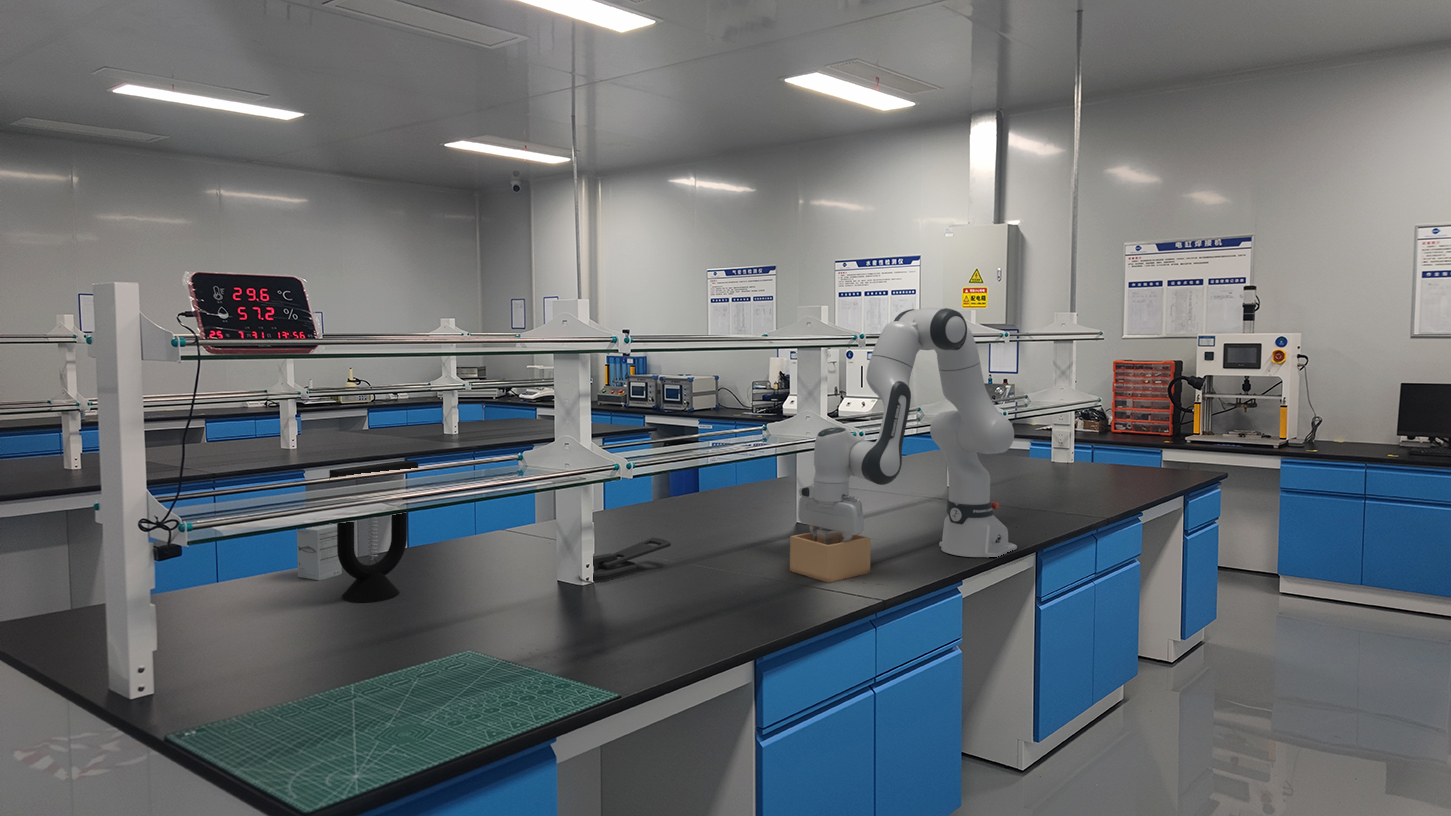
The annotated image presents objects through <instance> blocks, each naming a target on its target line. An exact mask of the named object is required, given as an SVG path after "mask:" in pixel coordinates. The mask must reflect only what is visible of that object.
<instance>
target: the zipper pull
mask: <svg viewBox="0 0 1451 816" xmlns="http://www.w3.org/2000/svg"><path fill="white" fill-rule="evenodd" d="M650 544H651V545H650ZM652 544H653V545H652ZM671 546H672V543H671V542H670V541H669V540H667V539H664V538H659V537H650V538H648V539H645V540H643V541H641V542H638V543H636V544H634V545H631V546H628V547H626V548H623V549H621V550H619V551H616V552H613V553H611V552H610V553H605V554H604V553H603V554H599V555H594V556H592V557H593V566H594V573H593V581H594V582H595V583H594V584H597V583H598V584H599V582H600V583H607V582H610V580H611V581H615V580H617V578H618V579H621V577H622V578H626V577H630V576H632V575H633V574H634V575H636V574H637V565H636V563H635V561H634V562H633V561H631V560H633V559H634V560H635V559H636V558H640V557H642V556H645V555H648V554H651V553H654V552H657V551H660V550H663V549H666V548H669V547H671ZM629 575H630V576H629ZM634 575H633V576H634ZM625 576H626V577H625ZM614 579H615V580H614Z"/></svg>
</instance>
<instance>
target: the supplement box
mask: <svg viewBox="0 0 1451 816" xmlns="http://www.w3.org/2000/svg"><path fill="white" fill-rule="evenodd" d="M331 524H332V525H325V526H319V527H312V528H306V529H301V530H297V529H296V545H297V546H296V548H297V550H296V551H297V557H296V558H297V578H303V579H310V580H314V581H318V582H319V581H323V580H327V579H330V578H333V577H337V576H339V575H342V574H343V573H342V572H343V571H342V569H343V567H342V566H341V564H340V561H339V558H338V553H337V524H334V523H331Z"/></svg>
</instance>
